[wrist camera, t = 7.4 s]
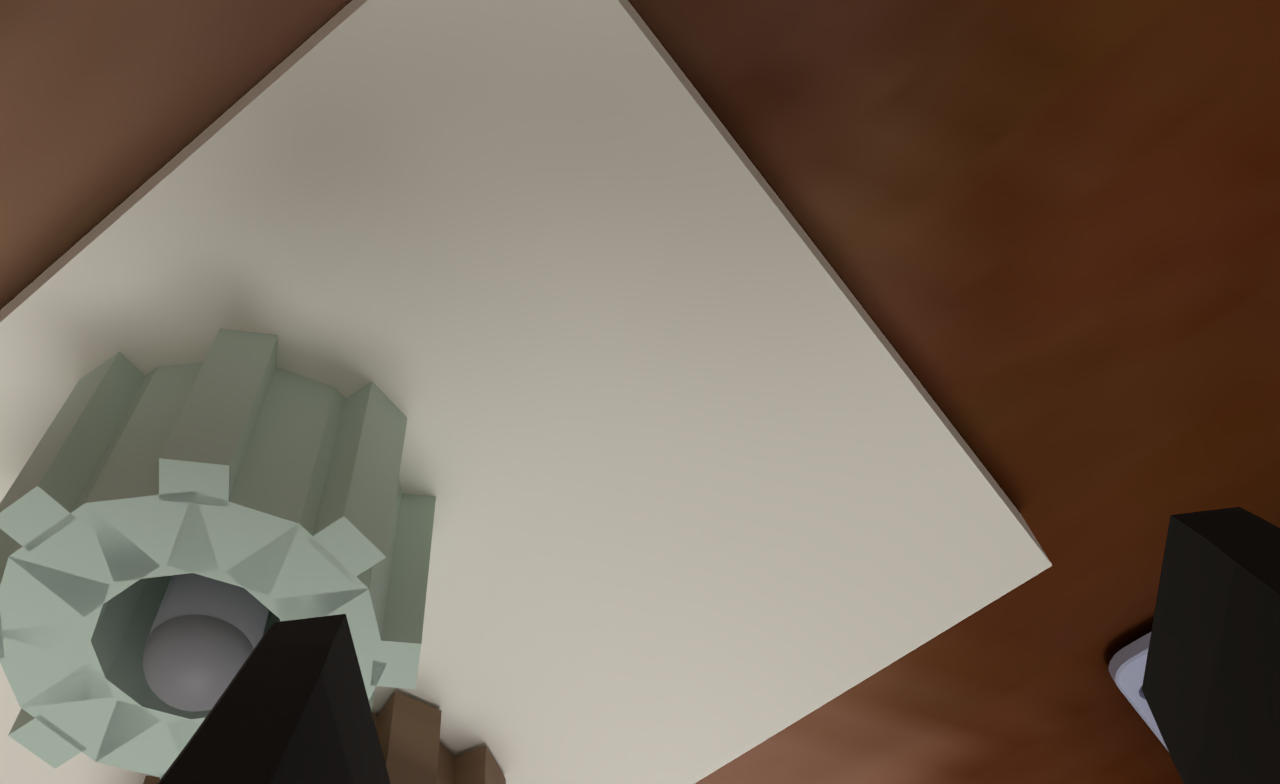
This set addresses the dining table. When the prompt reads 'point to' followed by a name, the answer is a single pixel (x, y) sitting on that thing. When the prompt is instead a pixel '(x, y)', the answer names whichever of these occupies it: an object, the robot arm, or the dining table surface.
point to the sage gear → (199, 537)
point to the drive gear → (422, 748)
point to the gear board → (542, 390)
